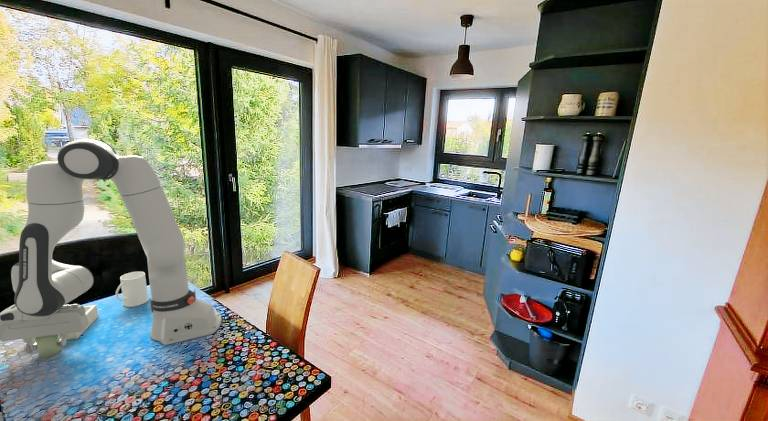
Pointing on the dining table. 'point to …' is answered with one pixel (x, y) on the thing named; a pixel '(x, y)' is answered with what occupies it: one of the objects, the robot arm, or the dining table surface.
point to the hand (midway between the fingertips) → (49, 346)
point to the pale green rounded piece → (48, 345)
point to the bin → (91, 316)
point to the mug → (133, 289)
